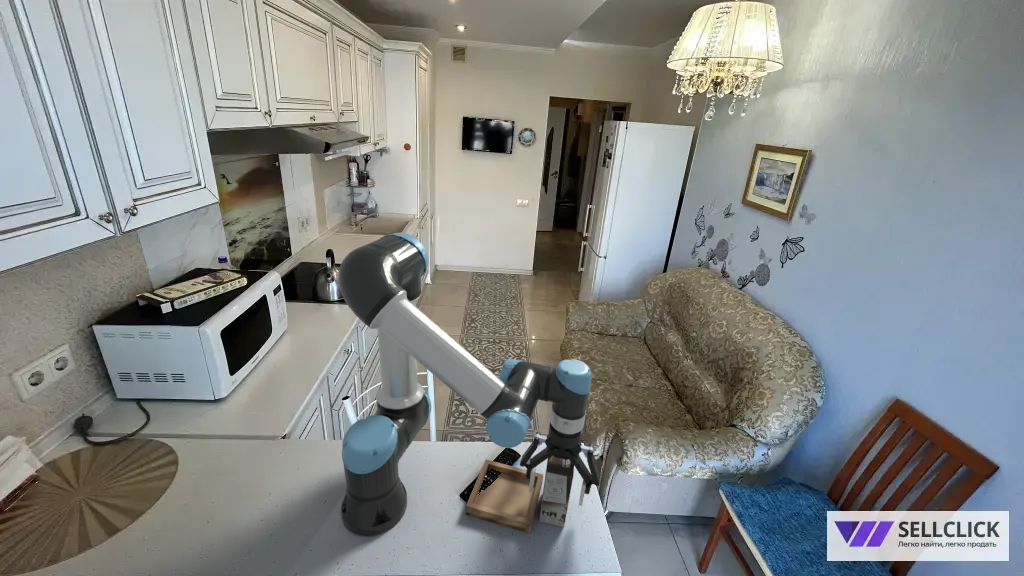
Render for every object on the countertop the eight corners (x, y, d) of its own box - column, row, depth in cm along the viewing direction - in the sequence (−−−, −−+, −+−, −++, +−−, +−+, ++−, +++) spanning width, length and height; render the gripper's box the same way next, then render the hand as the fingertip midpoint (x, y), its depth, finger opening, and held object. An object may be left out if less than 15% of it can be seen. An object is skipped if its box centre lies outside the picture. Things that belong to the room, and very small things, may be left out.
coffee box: (565, 528, 97) (573, 478, 91) (538, 521, 98) (545, 472, 92) (567, 496, 106) (575, 448, 99) (543, 491, 107) (549, 443, 100)
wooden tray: (465, 514, 99) (465, 505, 97) (485, 467, 112) (485, 459, 111) (530, 533, 95) (531, 524, 94) (542, 482, 109) (543, 474, 108)
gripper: (510, 423, 90) (504, 493, 99) (620, 449, 85) (604, 521, 94) (518, 402, 97) (512, 470, 105) (620, 425, 92) (605, 494, 100)
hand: (555, 494), depth 100 cm, fingers open, 12 cm apart
